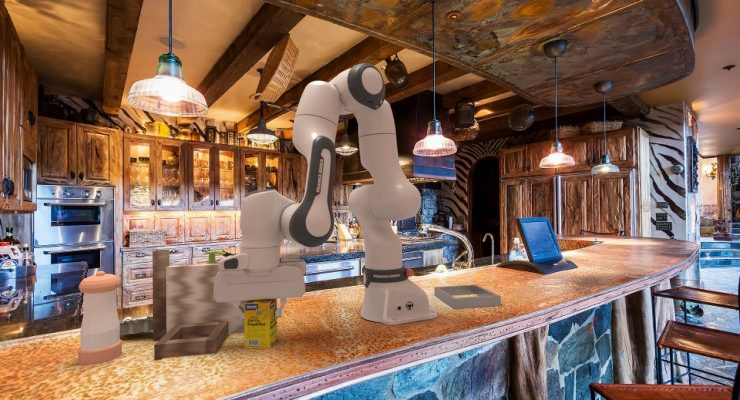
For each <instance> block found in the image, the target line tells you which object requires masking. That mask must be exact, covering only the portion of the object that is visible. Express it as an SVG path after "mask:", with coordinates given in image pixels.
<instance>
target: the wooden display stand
mask: <svg viewBox="0 0 740 400" xmlns="http://www.w3.org/2000/svg"><path fill="white" fill-rule="evenodd" d="M151 254H152V257H151V258H152V263H151V264H152V316H153V331H152V341H153V342H156V343H155V344H154V345H153V347H154V348H153V353H154V355H153V360H154V361H161V360H162V359H165V358H175V357H176V358H177V357H187V356H188V357H189V356H199V355H212V354H216V353H217V352H218V350H219V349H220V347H221V346H222V345H223V343H224V341H225V340H226V339H227V337H228V335H229V334H236V333H237V334H238V333H239V334H241V333H244V320H240V313H239V312H238V311H237V309H236V308H235V306H234V301H233V302H216V301H215V300H214V298H213V290H214V281H215V277H216V275H217V273H218V272H219V271H221V270H220V269H219V266H218V264H206V263H203V264H200V263H199V264H177V265H170V264H171V263H170V261H171V260H170V249H155V250H152V252H151ZM246 302H248V301H242V304H241V306H242V308H243V310H244V304H245V303H246Z"/></svg>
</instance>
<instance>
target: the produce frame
mask: <svg viewBox="0 0 740 400" xmlns="http://www.w3.org/2000/svg"><path fill="white" fill-rule="evenodd" d="M433 289H434V291H433V292H434V293H433V294H434V297H436V298H437V299H439V300H440V301H441V302H443V303H445V304H446V305H447V306H449V307H450V308H452V309H453V310H457V309H460V310H461V309H472V308H483V307H485V308H486V307H497V306H498V307H499V306H502V299H501V298H502V297H501V295H500V294H498V293H495V292H493V291H491V290H488V289H487V288H484V287H482V286H480V285H479V284H464V285H463V284H462V285H461V284H460V285H459V284H458V285H443V286H435V287H434V288H433ZM460 295H477V296H468V297H467V296H465V297H455V296H460Z"/></svg>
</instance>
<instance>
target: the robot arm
mask: <svg viewBox="0 0 740 400" xmlns="http://www.w3.org/2000/svg"><path fill="white" fill-rule="evenodd" d="M299 99H300V100H299V102H298V105H297V109H296V111H295V116H294V121H293V125H292V137H291V138H292V143H293V146H294V147H295V149H296V150H297V151H298V152H299V153H300V154H302V155H303V156H304V157H305V159H306V162H307V170H306V171H307V172H306V179H305V186H304V194H303V198H302V200H301V201H300V202H297V201H296V200H295V201H294V200H292V199H290V198H288V197H286V196H284V195H283V194H281V193H280V192H278V191H277V189H275V188H265V189H258V190H254V191H250V192H248V193H246V194H245V195H244V196H243V197H242V201H241V206H240V216H239V217H240V220H239V221H240V222H239V228H240V231H241V241H240V248H239V249H240V251H239V252H235V253H233V254H231V255H228V256H225V257H224V258H222V259H221V260H219V262H218V263H219V264H218V266H219V269H220V270H221V271H219V272H218V273H217V275H216V277H215V281H214V290H213V298H214V300H215V301H216V302H233V301H234V306H235V308H236V309H237V311H238V312H239V313H240V320H244V310H243V308H242V306H241V304H242V301H249V300H264V299H277V300H280V301H279V303H280V306H279V307H277V308H276V310H275V314H276V315H275V318H277V319H278V318H282V317H283V310H284V308H285V306H286V304H287V301H288V299H292V298H293V299H294V298H295V299H296V298H302V297H303V296H304V295H305V294H306V283H305V281H306V280H305V274H306V273H307V262H306V261H305V259H304V258H300V256H299V257H298V256H294V257H281V242H282V241H283V240H286V241H289V242H292V243H295V244H296V243H297V244H299V245H301V246H304V247H306V248H317V247H320V246H322V245H324V244H325V243H326V242H327V241H329V239H330V238H331V236H332V234H333V232H334V228H335V216H334V210H333V190H334V183H335V182H334V181H335V170H336V161H337V160H336V159H337V158H336V157H337V151H336V146H335V145H336V135H337V130H338V125H339V118H340V117H345V116H347V115H350V114H353V116H354V117H355V119H356V122H357V124H358V125H357V126H358V127H357V128H358V130H357V132H358V144H359V147H358V148H359V156H360V163H361V166H362V167H363V168H364V169H365V170H367V171H368V172H369V174H370V176H371V177H372V180H373V183H369V184H363V185H361V186H359V187H357V188H355V189H353V190H351V192H350V194H349V197H348V200H347V201H348V203H347V204H348V209H349V211H350V212H351V213H352V215H353V216H354V217H355V218H356V220H357V222H358V224H359V226H360V229H361V233H362V237H363V241H364V242H363V243H364V264H365V266H364V267H363V286H364V293H363V302H362V307H361V311H360V317H361V318H363V319H365V320H368V321H370V322H371V321H372V322H377V323H381V324H385V325H388V326H389V325H390V326H393V325H395V326H396V325H401V324H407V323H415V322H420V321H425V320H431V319H436V318H438V312H437V310H436V309H435V308H434V307H433V306H432V305H430V302H429V297H428V295H427V293H426V291H425V290H424V289H423V288H422V287H420V286H419V285H418V284H416V283H415V282H414V281H412V280H411V279H409V277H410V278H411V277H413V276H414V274H415V272H414V270H413V269H411V268H407V267H406V266H404V265H403V242H402V239H401V238H400V236H399V235H397V234H396V233H395V231H394V230H393V228H392V226H391V221H403V220H408V219H411V218H414V217H416V215H417V214H418V213H419V211H420V209H421V206H422V198H421V193H420V191H419V189H418V188H417V187H416V186H415V185H414V184H413V183H412V182H410V181H409V179H408V178H407V176H406V175H405V172H404V171H403V169H402V167H401V163H400V160H399V153H398V143H397V142H398V141H397V135H396V134H397V132H396V124H395V119H394V114H393V111H392V108H391V104H390V103H389V102H388V101H387V100H386V87H385V81H384V77H383V75H382V73H381V71H380V70H379V69H378V67H376V66H375V65H374V64H373V63H368V62H363V63H359V64H355V65H353V66H352V67H350V68H348V69H346V70H344V71H342V72H340V73H338V74H337V75H336V76H334V77H333V79H330V80H328V81H323V80H313V81H311V82H310V83H308V84H307V85H306V86H305V88H304V89H303V92H302V94H301V97H300V98H299Z"/></svg>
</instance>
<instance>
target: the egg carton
mask: <svg viewBox="0 0 740 400" xmlns="http://www.w3.org/2000/svg"><path fill="white" fill-rule="evenodd" d="M119 322H120V336H121V335H126V334H129V335H132V334H137V333H147V332H148V333H149V332H153V315H147V316H146V317H145V318H137V319H132V318H131V319H128V320H126V319H125V320H123V319H119Z"/></svg>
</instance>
